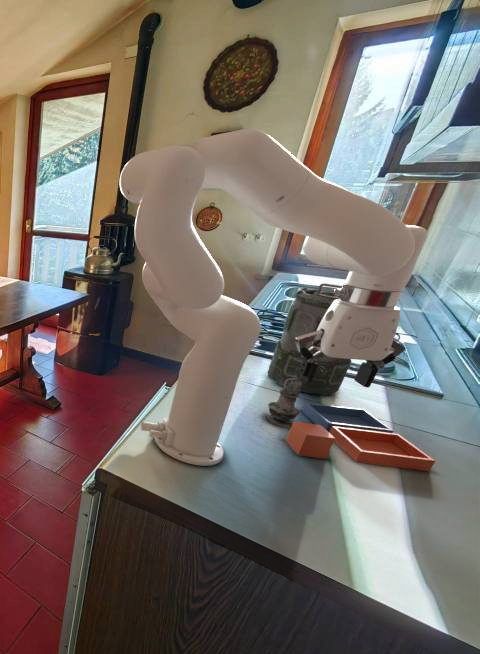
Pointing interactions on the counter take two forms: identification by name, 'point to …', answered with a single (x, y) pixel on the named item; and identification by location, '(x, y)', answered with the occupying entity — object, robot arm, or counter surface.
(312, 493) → the counter surface
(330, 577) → the counter surface
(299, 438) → the terracotta block
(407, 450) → the terracotta tray
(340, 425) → the blue tray
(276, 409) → the dark chess piece
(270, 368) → the canister
